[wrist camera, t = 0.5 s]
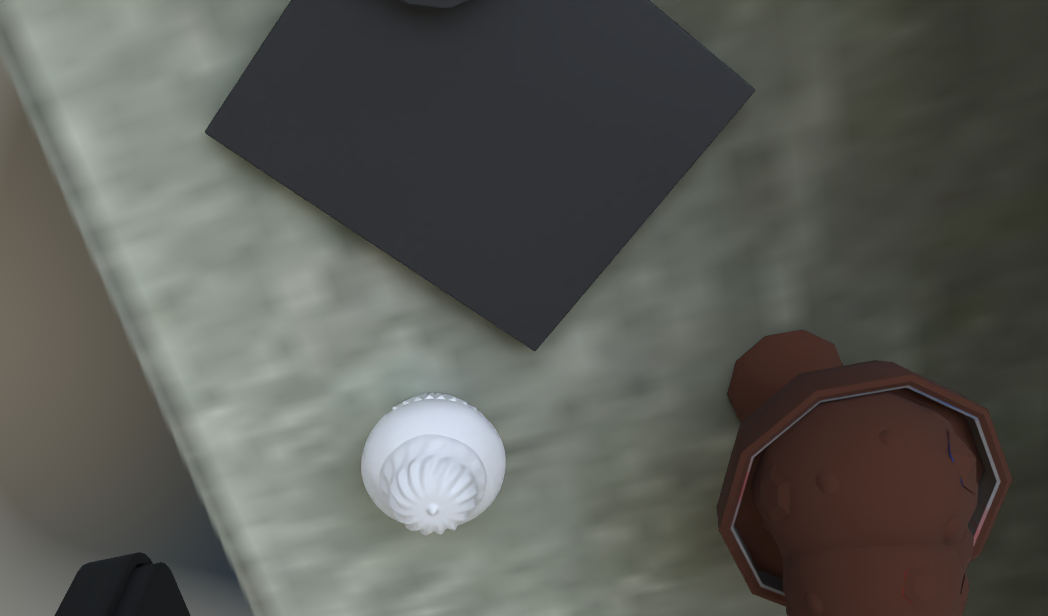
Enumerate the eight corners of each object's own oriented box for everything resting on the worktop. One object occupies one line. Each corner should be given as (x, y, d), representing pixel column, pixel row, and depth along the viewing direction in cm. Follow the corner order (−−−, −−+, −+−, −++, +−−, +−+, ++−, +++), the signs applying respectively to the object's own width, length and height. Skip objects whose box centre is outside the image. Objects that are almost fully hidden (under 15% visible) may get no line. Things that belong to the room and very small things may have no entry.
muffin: (337, 423, 45) (320, 516, 39) (433, 336, 43) (432, 418, 37) (435, 502, 47) (433, 603, 41) (529, 422, 46) (544, 513, 39)
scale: (203, 118, 39) (185, 138, 36) (416, -207, 35) (414, -213, 32) (532, 337, 44) (538, 369, 41) (752, 75, 40) (775, 91, 37)
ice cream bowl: (905, 458, 48) (1088, 697, 34) (677, 498, 48) (770, 752, 34) (906, 257, 44) (1116, 439, 30) (655, 301, 44) (752, 503, 30)
